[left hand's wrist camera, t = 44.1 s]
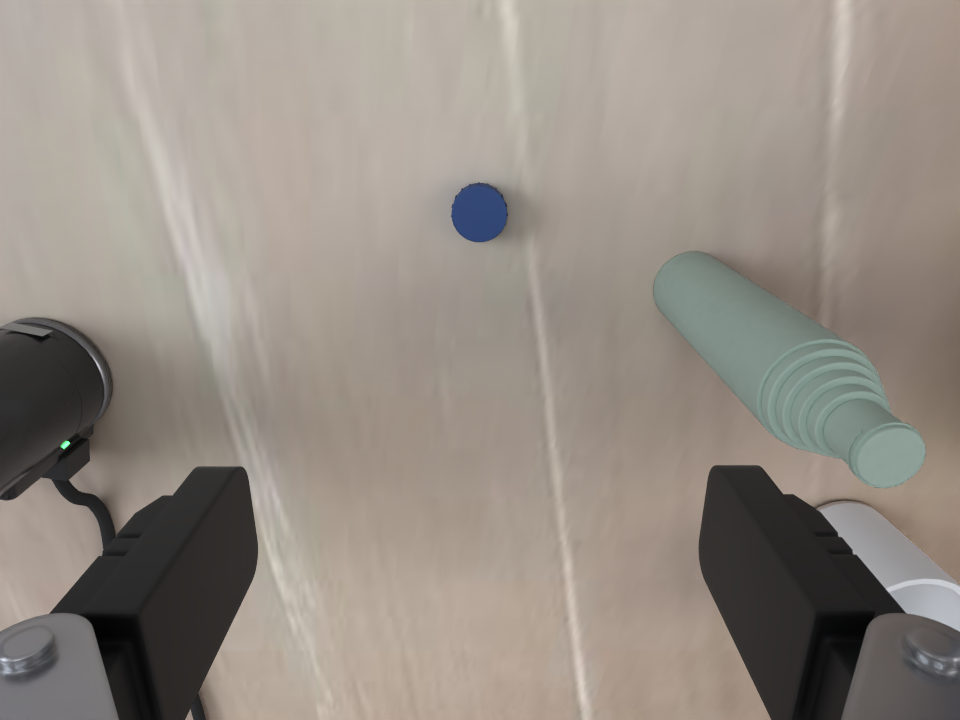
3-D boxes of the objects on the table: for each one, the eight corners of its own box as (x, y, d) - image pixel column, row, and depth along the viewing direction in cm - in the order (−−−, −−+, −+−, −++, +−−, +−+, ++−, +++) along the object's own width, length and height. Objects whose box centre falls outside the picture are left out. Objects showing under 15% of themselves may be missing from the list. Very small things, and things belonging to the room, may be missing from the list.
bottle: (641, 272, 47) (800, 431, 24) (711, 238, 46) (947, 368, 23) (669, 334, 49) (842, 539, 26) (736, 302, 48) (980, 485, 25)
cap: (490, 247, 47) (491, 252, 45) (442, 222, 46) (441, 226, 44) (516, 198, 45) (517, 202, 44) (467, 172, 45) (466, 174, 43)
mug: (848, 474, 53) (929, 555, 43) (912, 537, 55) (1003, 627, 46) (742, 557, 56) (796, 650, 46) (806, 613, 58) (871, 714, 48)
